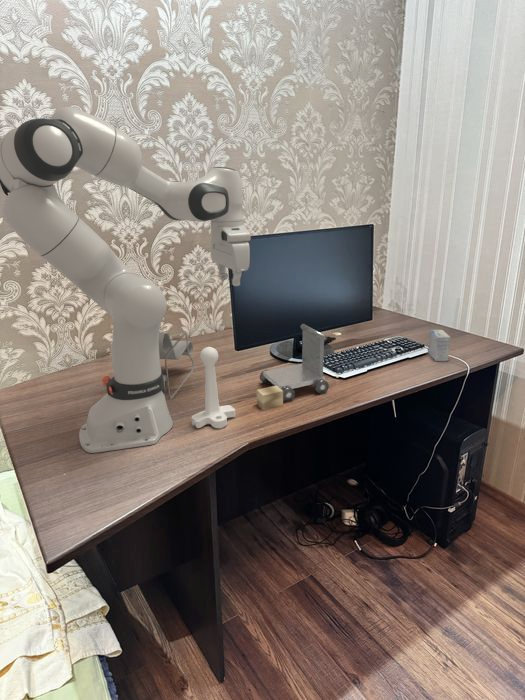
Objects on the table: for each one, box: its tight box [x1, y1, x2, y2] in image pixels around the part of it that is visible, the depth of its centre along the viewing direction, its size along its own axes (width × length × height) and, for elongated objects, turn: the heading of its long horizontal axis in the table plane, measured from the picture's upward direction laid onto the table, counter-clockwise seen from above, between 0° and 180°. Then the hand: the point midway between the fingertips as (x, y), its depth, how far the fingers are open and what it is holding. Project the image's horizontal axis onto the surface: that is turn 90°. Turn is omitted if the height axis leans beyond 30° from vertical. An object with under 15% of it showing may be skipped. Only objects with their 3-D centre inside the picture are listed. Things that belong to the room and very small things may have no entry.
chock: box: [256, 385, 284, 411], centre depth 126 cm, size 6×4×4 cm, turn 115°
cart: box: [259, 323, 330, 403], centre depth 134 cm, size 15×15×17 cm
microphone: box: [324, 336, 337, 345], centre depth 170 cm, size 6×6×20 cm
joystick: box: [191, 346, 236, 429], centre depth 115 cm, size 11×8×20 cm
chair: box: [159, 331, 195, 400], centre depth 139 cm, size 13×25×20 cm, turn 171°
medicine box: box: [427, 329, 451, 362], centre depth 156 cm, size 8×4×9 cm, turn 179°
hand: (229, 282), depth 130 cm, fingers open, 8 cm apart
